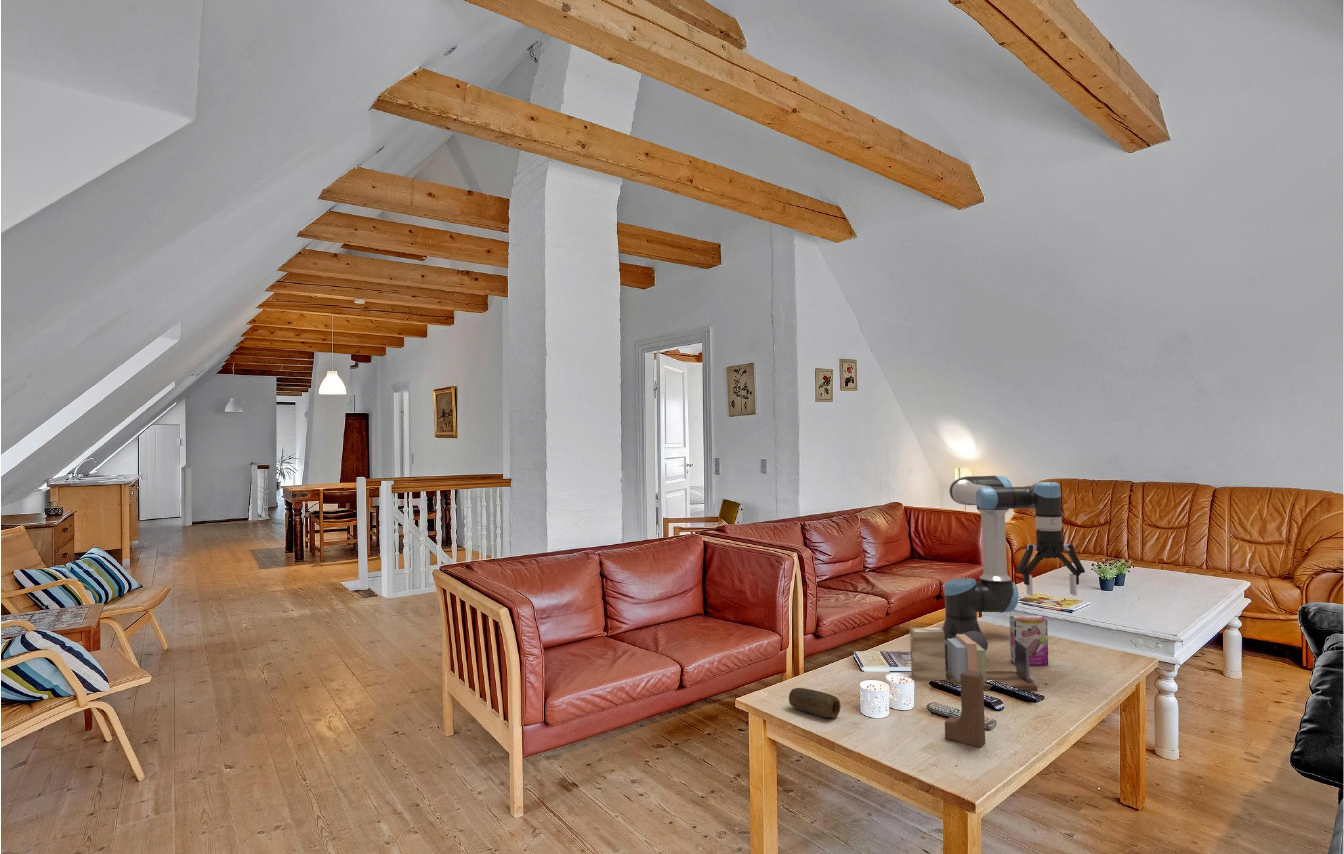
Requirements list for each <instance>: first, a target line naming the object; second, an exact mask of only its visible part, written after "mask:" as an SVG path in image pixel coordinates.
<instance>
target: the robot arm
mask: <svg viewBox="0 0 1344 854" xmlns="http://www.w3.org/2000/svg"><path fill="white" fill-rule="evenodd" d="M948 492H949V496H950V498H951V499H952V501H954V502H955V503H956V504H959V505H963V506H976V510H977V511H978V512H979V513H980V516H981V518H980V519H981V538H982V539H981V543H982V545H981V546H982V547H981V548H982V567H983V570H982V571H983V572H982V574H981V575H980V576H979V581H976V579H975V578H971V577H958V578H952V579H949V580H947V581H946V582H945V583H944V591H943V594H944V610H945V618H944V622H943V624H942V625H943V626H942V628H941V629H942V630H943V631H944V636H945V641H947V639H951V638H953V637H955V636H956V634H963V633H966V632H969V631H978V632H980V633H982V629H981V627H980V624H979V621H978V613H1001V614H1003V613H1009V612H1010V613H1011V612H1013V611H1015V609H1016V608H1017V605H1018V603H1019V590H1018V587H1017V584H1016V583H1015V582H1014V581H1012V580H1013V579H1012V577H1011V576H1009V574H1008V564H1007V563H1008V562H1007V561H1008V560H1007V559H1008V558H1007V538H1006V537H1007V536H1006V514H1007V512H1009V510H1023V509H1025V510H1028V509H1029V510H1031V509H1033V510H1034V516H1035V517H1034V518H1035V528H1036V530H1035V538H1036V544H1031V543H1027V544H1026V546H1025V551H1024V553H1023V556H1022V558H1021V560H1020V562H1019V564H1018V566H1017V569H1016V571H1017V572H1018V573H1020V574H1022V575H1023V579H1022V580H1023V584H1024V585H1026V595H1029V596H1033V595H1034V590H1033V575H1032V574H1031V573H1032V572H1033V570H1035V568H1036V567H1037V566H1038V564H1040V563H1041V561H1042V560H1043V559H1058V560H1060V562H1061V563H1062V564H1063V565H1064V566H1065V567H1066V568H1067V569H1068V570H1069V571H1070V572H1071V573H1069V592H1070V593H1069V594H1070V595H1072V596H1078V593H1077V591H1078V589H1077V587H1078V586H1077V585H1080V584H1079V583H1080V576H1081V574H1084V573H1086V570H1085V567H1083V564H1082V563H1081V561H1080V559H1079V558H1078V557H1079V556H1077V554H1076V552H1075V548H1074V545H1073V544H1070V543H1066V544H1063V531H1062V528H1063V522H1062V521H1063V520H1062V519H1063V517H1062V492H1061V485H1060V483H1059V482H1057V481H1056V482H1055V481H1052V482H1051V481H1039V482H1038V481H1037V482H1035V483H1034V485H1026V486H1013V485H1012V483H1011V480H1010V479H1009V478H1007V477H1006V476H1003V475H982V476H981V475H977V476H975V475H974V476H972V475H970V476H969V475H968V476H962V477H959V478H957V479H954V481H953V482H952V483H951V484H950V486H949V491H948ZM1035 550H1036V551H1037V553H1036V554H1034V557H1033V558H1032V559H1031V557H1032V555H1033V553H1034V552H1035ZM1064 550H1065V552H1066V553H1067V555H1068V556H1069V558H1070V559H1071V561H1072V563H1073V564H1072V563H1071V562H1070V560H1068V559H1067V557H1065V555H1064V554H1063V553H1062V552H1063V551H1064ZM1030 559H1031V561H1030ZM982 634H983V633H982Z"/></svg>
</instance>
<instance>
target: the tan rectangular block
mask: <svg viewBox="0 0 1344 854" xmlns="http://www.w3.org/2000/svg"><path fill="white" fill-rule="evenodd" d="M909 641H910V642H909V643H910V644H909V645H910V647H909V648H910V673H911V674H912V676H911V677H912V678H913V680H914V679H915V680H914V681H932V680H946V681H947V678H946V671H947V667H946V664H945V641H946V640H945V636H944V631H943V630H942V628H941V627H909Z"/></svg>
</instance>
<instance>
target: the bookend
mask: <svg viewBox="0 0 1344 854" xmlns="http://www.w3.org/2000/svg"><path fill="white" fill-rule="evenodd" d="M1015 649H1016V665H1015V667H1016V669H1015V671H1016V674H1017V675H1018V676H1019V677H1020V678H1022V679H1023V680H1024V681H1025V682H1027V683H1034V680H1033V679H1032V678H1031V677H1030V665H1029V655H1028V647H1026V646H1025V645H1023V644H1022V643H1020V642H1019V641H1015ZM1034 684H1035V683H1034Z"/></svg>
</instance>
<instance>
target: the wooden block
mask: <svg viewBox="0 0 1344 854" xmlns="http://www.w3.org/2000/svg"><path fill="white" fill-rule="evenodd" d="M960 679H961V690H960V697H961V698H960V701H961V702H960V704H961V706H960V707H961V713H960V716H959V717H957V716H949V717H948V718H947V719H946V720H945V721H944V738H945V739H946V740H950V741H953V742H957V743H961V744H965V745H968V746H969V745H970V746H972V747H976V748H977V747H978V748H982V746H983V745H984V744H985V742H986V728H985V727H986V723H985V702H984V700H985V699H984V690H983V674H982V673H981V672H975V671H970V670H965V671H963V672H962V673H961V674H960Z"/></svg>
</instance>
